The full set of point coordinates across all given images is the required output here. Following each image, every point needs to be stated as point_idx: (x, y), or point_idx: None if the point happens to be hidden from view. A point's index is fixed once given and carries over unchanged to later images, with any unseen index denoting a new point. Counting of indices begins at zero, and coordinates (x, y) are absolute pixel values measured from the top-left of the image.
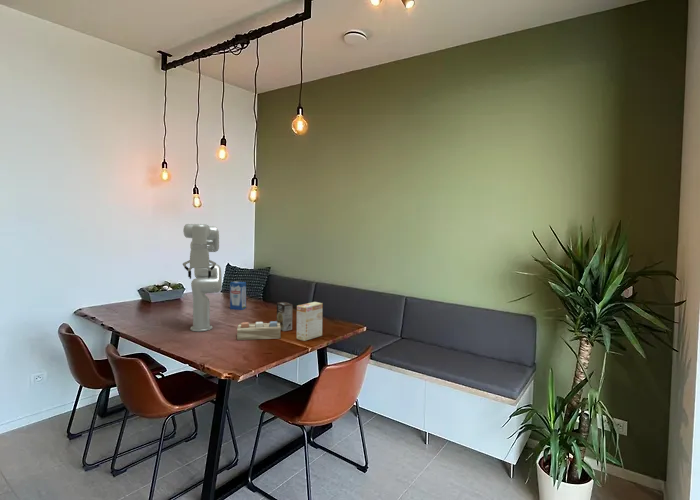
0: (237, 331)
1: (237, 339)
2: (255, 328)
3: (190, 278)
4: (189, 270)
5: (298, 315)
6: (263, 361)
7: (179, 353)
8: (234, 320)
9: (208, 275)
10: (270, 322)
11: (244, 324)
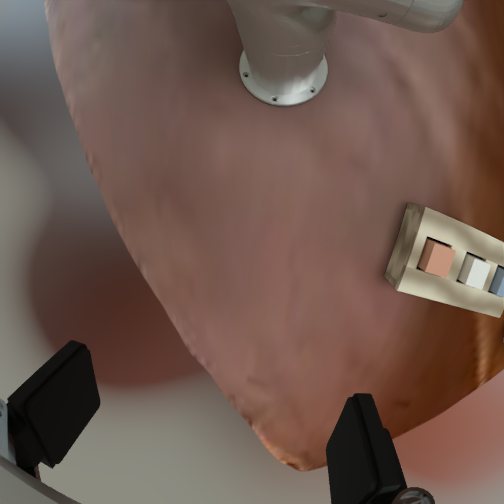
0: (395, 288)
1: (385, 277)
2: (451, 297)
3: (96, 405)
4: (29, 465)
5: None
6: None
7: (193, 337)
8: None
9: (332, 477)
10: (501, 285)
11: (433, 273)
